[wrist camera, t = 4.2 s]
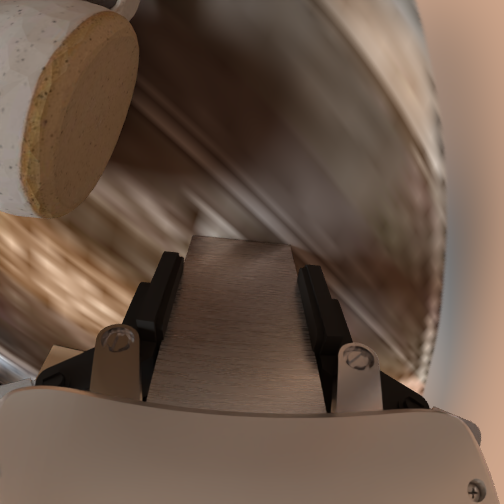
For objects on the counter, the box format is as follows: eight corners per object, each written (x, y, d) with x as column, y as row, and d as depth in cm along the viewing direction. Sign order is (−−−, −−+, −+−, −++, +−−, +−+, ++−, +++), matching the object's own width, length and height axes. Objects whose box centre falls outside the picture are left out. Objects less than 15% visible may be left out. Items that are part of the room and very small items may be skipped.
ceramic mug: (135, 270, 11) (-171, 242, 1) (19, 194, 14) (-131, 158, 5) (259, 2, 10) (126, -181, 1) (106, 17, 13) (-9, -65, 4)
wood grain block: (192, 235, 14) (135, 446, 6) (289, 244, 15) (334, 457, 6) (191, 310, 17) (159, 497, 8) (274, 318, 17) (292, 504, 8)
